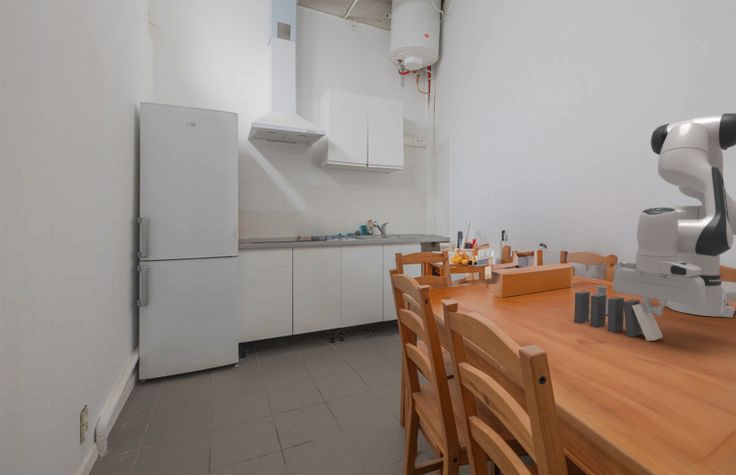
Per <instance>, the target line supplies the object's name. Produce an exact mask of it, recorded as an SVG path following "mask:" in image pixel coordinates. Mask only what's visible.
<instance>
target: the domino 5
mask: <svg viewBox="0 0 736 475" xmlns="http://www.w3.org/2000/svg"><path fill="white" fill-rule="evenodd" d="M632 308H633V310H634V312H635V315H636V317H637V319H638V322H639V324H640V326H641V329H642V334H643V335H644V337H645V341H647V342H650V341H657V340H659V339H662V338H663V337H664V336H663V334H662V332H661V329H660V326H659V325H658V322H657V320H656V319H655V316H654V315H655V314H652V313H647V307H646V305H645V304H644V302H642V303H641V302H640V304H636V305H632Z"/></svg>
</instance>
